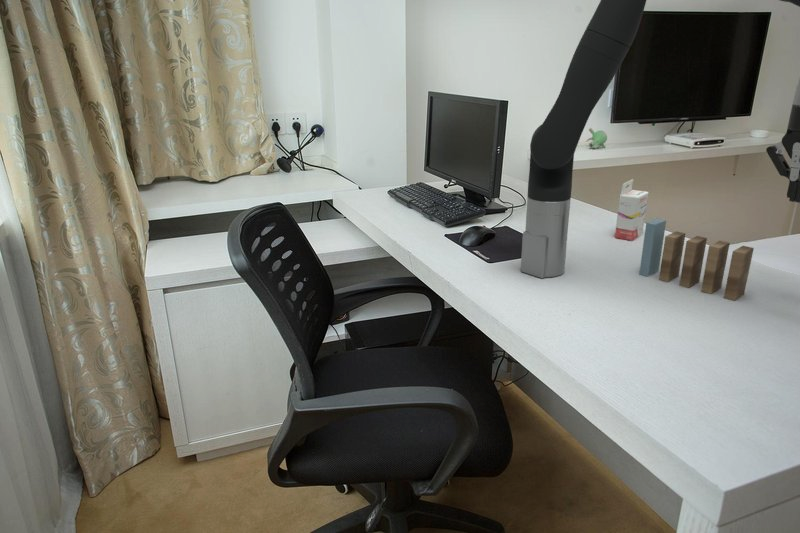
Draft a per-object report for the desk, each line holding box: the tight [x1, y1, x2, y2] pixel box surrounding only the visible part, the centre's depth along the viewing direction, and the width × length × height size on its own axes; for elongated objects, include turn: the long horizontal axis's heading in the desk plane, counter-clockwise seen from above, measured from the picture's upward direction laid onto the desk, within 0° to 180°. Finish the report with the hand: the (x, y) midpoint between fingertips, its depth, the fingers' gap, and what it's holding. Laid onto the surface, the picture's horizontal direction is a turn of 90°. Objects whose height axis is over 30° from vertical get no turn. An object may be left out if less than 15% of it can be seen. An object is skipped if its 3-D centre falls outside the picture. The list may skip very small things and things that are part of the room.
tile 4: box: [658, 230, 686, 283], centre depth 125 cm, size 5×2×10 cm, turn 131°
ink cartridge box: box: [614, 178, 650, 242], centre depth 153 cm, size 9×5×15 cm, turn 141°
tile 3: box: [679, 235, 708, 289], centre depth 122 cm, size 5×2×10 cm, turn 131°
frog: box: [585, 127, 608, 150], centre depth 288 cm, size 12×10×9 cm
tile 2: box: [700, 240, 731, 295], centre depth 119 cm, size 5×2×10 cm, turn 131°
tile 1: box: [723, 245, 754, 302], centre depth 116 cm, size 5×2×10 cm, turn 131°
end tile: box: [638, 218, 667, 277], centre depth 128 cm, size 5×2×12 cm, turn 131°
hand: (796, 201), depth 105 cm, fingers closed
